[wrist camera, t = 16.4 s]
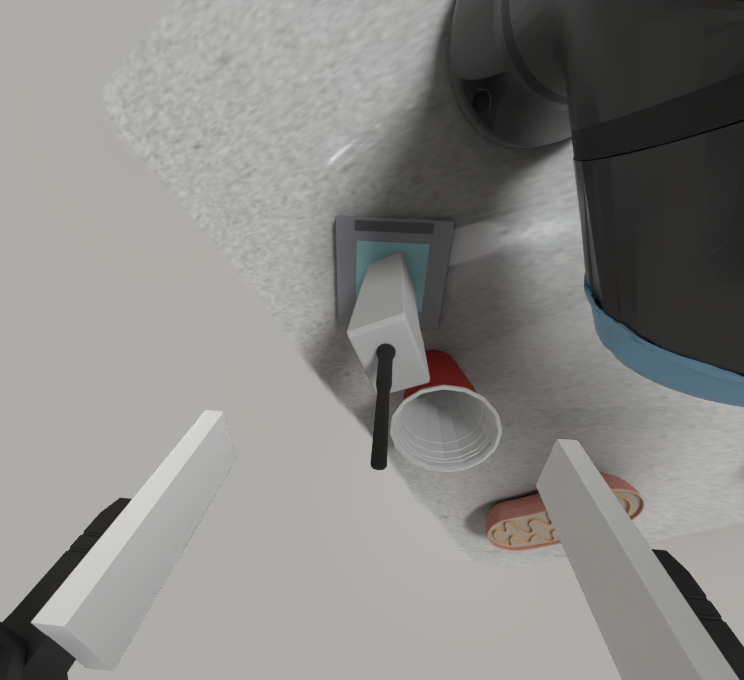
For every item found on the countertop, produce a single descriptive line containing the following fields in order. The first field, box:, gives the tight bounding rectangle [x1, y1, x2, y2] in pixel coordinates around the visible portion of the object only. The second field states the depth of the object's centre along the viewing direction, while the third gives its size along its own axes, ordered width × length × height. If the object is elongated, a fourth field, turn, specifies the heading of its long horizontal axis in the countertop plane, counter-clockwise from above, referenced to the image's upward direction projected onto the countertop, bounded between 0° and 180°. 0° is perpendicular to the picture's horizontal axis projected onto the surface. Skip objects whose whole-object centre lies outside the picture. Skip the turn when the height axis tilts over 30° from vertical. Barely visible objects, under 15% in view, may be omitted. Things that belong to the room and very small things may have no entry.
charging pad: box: [335, 216, 455, 330], centre depth 34 cm, size 12×12×1 cm
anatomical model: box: [486, 473, 645, 551], centre depth 48 cm, size 23×10×5 cm, turn 126°
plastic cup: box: [390, 350, 502, 473], centre depth 35 cm, size 11×11×12 cm
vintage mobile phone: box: [347, 252, 430, 470], centre depth 22 cm, size 4×5×25 cm
